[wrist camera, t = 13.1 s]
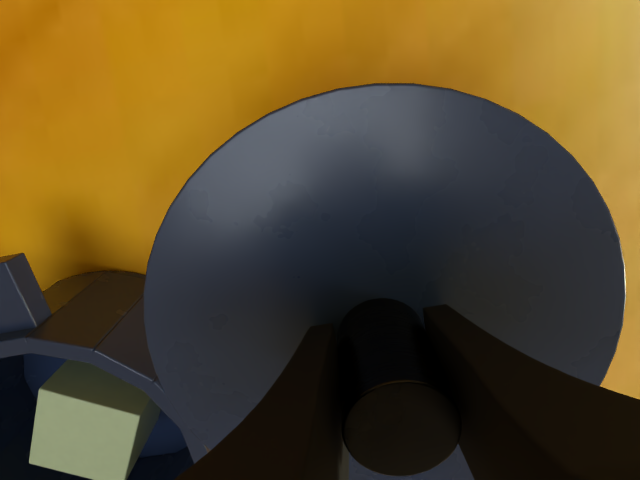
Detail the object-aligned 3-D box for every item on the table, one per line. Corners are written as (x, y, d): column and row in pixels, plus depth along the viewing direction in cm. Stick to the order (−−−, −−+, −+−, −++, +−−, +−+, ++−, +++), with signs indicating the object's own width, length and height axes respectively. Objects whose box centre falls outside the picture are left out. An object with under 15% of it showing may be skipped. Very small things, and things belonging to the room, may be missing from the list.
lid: (607, 32, 10) (817, -15, 6) (597, 453, 14) (716, 610, 10) (91, 140, 11) (-60, 169, 7) (223, 504, 15) (183, 666, 11)
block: (174, 356, 22) (140, 416, 18) (158, 419, 24) (122, 488, 20) (92, 333, 22) (38, 388, 18) (80, 398, 23) (27, 463, 19)
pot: (188, 197, 20) (128, 243, 14) (275, 477, 26) (259, 595, 20) (-50, 245, 21) (-202, 306, 15) (85, 504, 27) (14, 624, 21)
